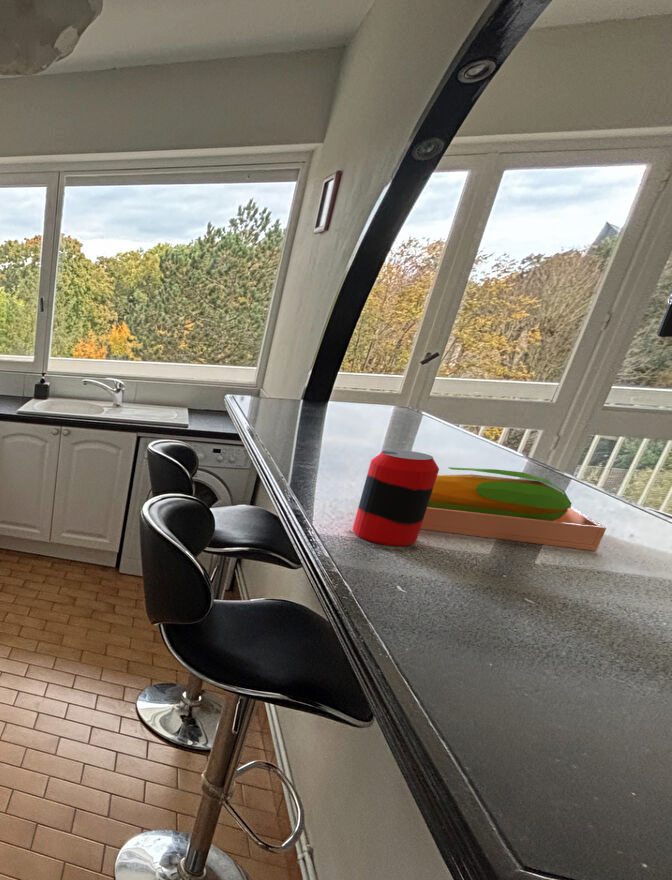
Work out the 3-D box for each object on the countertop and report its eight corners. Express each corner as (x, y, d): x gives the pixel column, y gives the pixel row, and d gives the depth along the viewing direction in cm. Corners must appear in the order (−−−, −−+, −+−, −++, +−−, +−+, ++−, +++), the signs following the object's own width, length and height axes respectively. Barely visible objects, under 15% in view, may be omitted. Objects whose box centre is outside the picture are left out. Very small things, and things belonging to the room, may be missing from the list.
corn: (587, 484, 79) (404, 461, 90) (566, 537, 81) (390, 509, 92) (574, 475, 84) (404, 455, 95) (555, 526, 87) (390, 501, 98)
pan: (552, 519, 91) (561, 499, 89) (596, 551, 79) (606, 528, 78) (367, 499, 100) (372, 480, 99) (382, 524, 89) (388, 503, 88)
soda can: (350, 524, 89) (371, 446, 84) (411, 533, 85) (437, 452, 81) (353, 540, 83) (375, 457, 78) (419, 550, 79) (447, 464, 75)
